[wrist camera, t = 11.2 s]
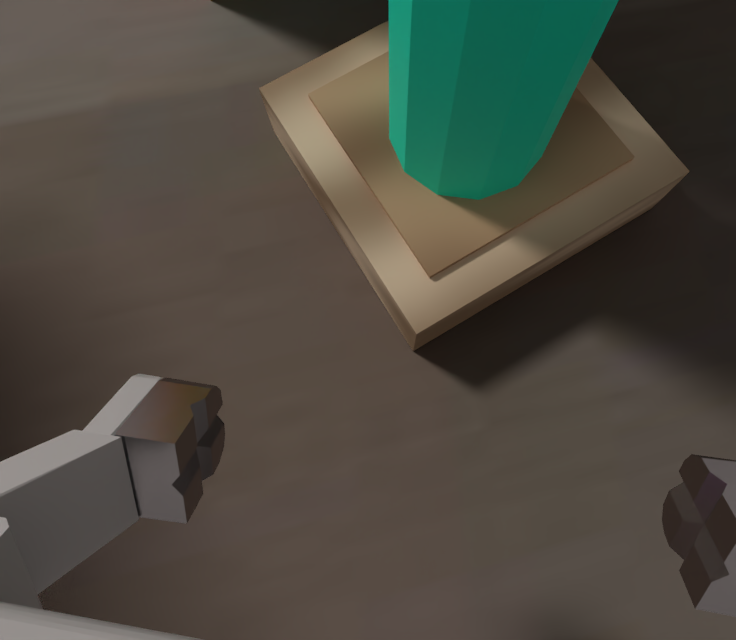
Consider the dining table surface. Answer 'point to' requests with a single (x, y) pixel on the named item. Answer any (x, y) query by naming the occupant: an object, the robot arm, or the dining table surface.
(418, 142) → the candle
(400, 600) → the dining table surface
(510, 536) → the dining table surface
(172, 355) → the dining table surface
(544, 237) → the base block
